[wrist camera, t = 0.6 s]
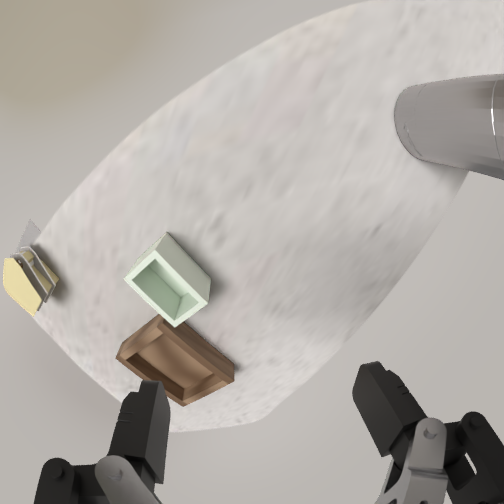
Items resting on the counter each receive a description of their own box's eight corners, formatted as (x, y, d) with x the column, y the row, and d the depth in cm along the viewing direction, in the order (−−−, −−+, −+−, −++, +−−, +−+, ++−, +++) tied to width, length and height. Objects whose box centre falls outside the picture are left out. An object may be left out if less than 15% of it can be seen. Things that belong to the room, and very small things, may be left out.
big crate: (167, 307, 31) (162, 323, 28) (233, 363, 35) (234, 381, 32) (122, 342, 33) (115, 358, 30) (185, 390, 37) (183, 406, 34)
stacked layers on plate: (80, 272, 29) (59, 294, 24) (55, 310, 31) (37, 333, 26) (30, 218, 26) (3, 232, 21) (11, 263, 27) (-11, 280, 22)
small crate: (166, 231, 28) (154, 249, 23) (211, 278, 30) (208, 303, 25) (138, 258, 28) (123, 279, 24) (181, 301, 31) (174, 327, 26)
